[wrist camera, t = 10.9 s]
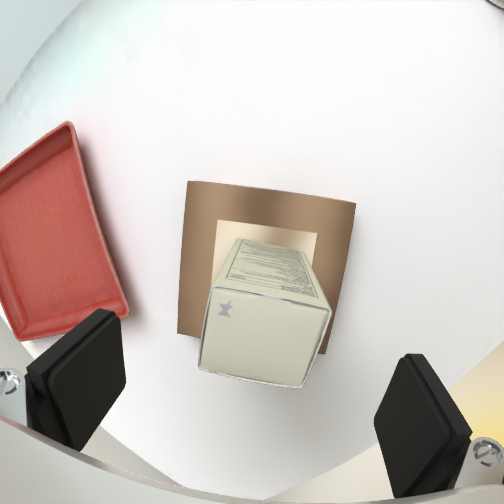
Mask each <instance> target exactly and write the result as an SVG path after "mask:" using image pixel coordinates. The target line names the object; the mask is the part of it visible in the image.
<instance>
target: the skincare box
mask: <svg viewBox="0 0 504 504" xmlns="http://www.w3.org/2000/svg"><path fill="white" fill-rule="evenodd" d="M331 315H332V310H331V308H330V305H329V303H328V301H327V299H326V297H325V295H324V293H323V290H322V288H321V286H320V284H319V282H318V280H317V278H316V276H315V274H314V272H313V269H312V267H311V265H310V263H309V261H308V259H307V257H306V255H305V253H304V252H302V251H298V250H294V249H290V248H286V247H281V246H277V245H272V244H268V243H263V242H258V241H253V240H247V239H242V238H237V239H236V241H235V242H234V245H233V247H232V248H231V250H230V252H229V254H228V256H227V258H226V260H225V262H224V264H223V266H222V267H221V269H220V271H219V273H218V275H217V277H216V279H215V281H214V283H213V285H212V287H211V289H210V294H209V298H208V302H207V308H206V313H205V318H204V323H203V329H202V335H201V341H200V349H199V359H198V368H199V369H200V370H203V371H207V372H210V373H215V374H218V375H223V376H227V377H231V378H236V379H240V380H245V381H250V382H256V383H261V384H266V385H274V386H281V387H290V388H298V389H300V388H302V387H303V385H304V383H305V380H306V378H307V376H308V374H309V372H310V369H311V367H312V365H313V362H314V360H315V358H316V355H317V353H318V350H319V348H320V345H321V343H322V340H323V337H324V335H325V332H326V329H327V326H328V323H329V320H330V318H331Z"/></svg>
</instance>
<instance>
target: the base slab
mask: <svg viewBox="0 0 504 504" xmlns="http://www.w3.org/2000/svg"><path fill="white" fill-rule="evenodd" d="M355 208H356V203H352V202H348V201H343V200H337V199H331V198H325V197H319V196H312V195H306V194H299V193H292V192H285V191H278V190H271V189H263V188H255V187H247V186H239V185H230V184H221V183H212V182H202V181H188V183H187V192H186V202H185V212H184V224H183V236H182V249H181V263H180V280H179V300H178V326H177V333H178V334H183V335H188V336H194V337H199V338H201V335H202V329H203V323H204V318H205V313H206V308H207V302H208V298H209V294H210V289H211V287H212V285H213V283H214V281H215V279H216V277H217V275H218V273H219V271H220V269H221V267H222V266H223V264H224V262H225V260H226V258H227V256H228V254H229V252H230V250H231V248H232V247H233V245H234V242H235V241H236V239H237V238H242V239H247V240H253V241H258V242H263V243H268V244H272V245H277V246H281V247H286V248H290V249H294V250H298V251H302V252H304V253H305V255H306V257H307V259H308V261H309V263H310V265H311V267H312V269H313V272H314V274H315V276H316V278H317V280H318V282H319V284H320V286H321V288H322V290H323V293H324V295H325V297H326V299H327V301H328V303H329V305H330V308H331V310H332V315H331V318H330V320H329V323H328V326H327V329H326V332H325V335H324V337H323V340H322V343H321V345H320V348H319V350H318V353H317V354H325V352H326V348H327V345H328V341H329V337H330V333H331V329H332V325H333V320H334V316H335V312H336V308H337V303H338V299H339V294H340V290H341V285H342V280H343V275H344V270H345V265H346V260H347V255H348V250H349V244H350V238H351V233H352V227H353V221H354V215H355Z"/></svg>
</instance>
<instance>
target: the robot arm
mask: <svg viewBox="0 0 504 504" xmlns="http://www.w3.org/2000/svg"><path fill="white" fill-rule="evenodd" d="M489 1H490V2H492V3H493V4H495V5H497V6H499V7H501V8H503V9H504V0H489ZM26 369H27V372H28V373H27V374H26V375H25V376H23V374H22V373H21V372H20V371H18V370H16V369H13V368H1V369H0V504H316V503H288V502H274V501H263V500H254V499H245V498H238V497H231V496H225V495H219V494H214V493H208V492H203V491H199V490H194V489H189V488H185V487H181V486H177V485H173V484H169V483H165V482H162V481H158V480H155V479H151V478H148V477H144V476H141V475H138V474H135V473H132V472H129V471H126V470H123V469H121V468H118V467H115V466H112V465H110V464H107V463H105V462H102V461H99V460H97V459H94V458H92V457H90V456H88V455H85V454H83V453H80V451H81V450H82V449H83V448H84V446H85V444H86V443H87V442H88V440H89V439H90V437H91V436H92V434H93V433H94V431H95V430H96V428H97V427H98V426H99V424H100V423H101V421H102V420H103V418H104V417H105V415H106V414H107V412H108V411H109V410H110V408H111V407H112V405H113V404H114V402H115V401H116V399H117V398H118V397H119V395H120V394H121V392H122V391H123V389H124V388H125V384H126V375H125V366H124V357H123V347H122V335H121V322H120V318H119V317H117V316H116V313H115V312H114V311H110V310H106V309H102V308H98V309H97V310H95V311H94V312H93V313H92V314H90V315H89V316H88V317H87V318H85V319H84V320H83V321H82V322H80V323H79V324H78V325H77V326H75V327H74V328H73V329H72V330H70V331H69V332H68V333H67V334H66V335H64V336H63V337H62V338H61V339H59V340H58V341H57V342H56V343H55V344H53V345H52V346H51V347H50V348H49V349H47V350H46V351H45V352H44V353H43V354H41V355H40V356H39V357H38V358H37V359H36V360H34V361H33V362H32V363H31V364H30V365H29V366H27V367H26ZM374 427H375V431H376V434H377V437H378V441H379V444H380V448H381V451H382V455H383V458H384V462H385V465H386V469H387V473H388V477H389V480H390V484H391V488H392V492H393V495H394V497H395V498H396V499H390V500H382V501H381V500H380V501H370V502H356V503H325V504H504V448H503V447H502V446H501V445H500V444H499V443H498V442H497V441H495V440H493V439H491V438H487V437H479V438H476V439H474V440H473V441H472V442H471V440H470V438H469V437H470V436H471V434H472V433H473V432H472V430H471V429H470V427H469V425H468V423H467V422H466V420H465V419H464V417H463V415H462V414H461V412H460V410H459V409H458V407H457V406H456V404H455V402H454V401H453V399H452V398H451V396H450V395H449V393H448V391H447V390H446V388H445V387H444V385H443V384H442V382H441V380H440V379H439V377H438V376H437V374H436V373H435V371H434V370H433V368H432V367H431V365H430V364H429V363H428V361H427V360H426V358H425V357H424V355H423V354H406V355H405V356H404V358H400V360H399V361H398V364H397V366H396V369H395V371H394V374H393V376H392V379H391V381H390V384H389V386H388V388H387V390H386V393H385V395H384V397H383V400H382V402H381V404H380V406H379V408H378V410H377V412H376V415H375V417H374ZM317 504H319V503H317ZM320 504H322V503H320ZM323 504H324V503H323Z"/></svg>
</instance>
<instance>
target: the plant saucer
mask: <svg viewBox="0 0 504 504" xmlns="http://www.w3.org/2000/svg"><path fill="white" fill-rule="evenodd" d="M0 302H1V305H2V307H3V310H4V312H5V315H6V317H7V320H8V322H9V324H10V326H11V329H12V331H13V333H14V335H15V337H16V338H17V340H18V341H20V342H23V341H28V340H33V339H38V338H43V337H48V336H53V335H56V334H62V333H66V332H69V331H70V330H72V329H73V328H74V327H75V326H77V325H78V324H79V323H80V322H82V321H83V320H84V319H85V318H87V317H88V316H89V315H90V314H92V313H93V312H94V311H95V310H97V309H98V308H102V309H106V310H110V311H114V312H115V313H116V316H117V317H119V318H120V320H121V319H125V318H127V317H128V316H129V314H130V309H129V304H128V301H127V298H126V295H125V293H124V290H123V287H122V285H121V282H120V279H119V277H118V274H117V271H116V269H115V266H114V263H113V260H112V258H111V255H110V252H109V249H108V246H107V243H106V240H105V237H104V234H103V231H102V228H101V225H100V222H99V219H98V215H97V212H96V209H95V205H94V202H93V198H92V195H91V191H90V188H89V184H88V180H87V176H86V172H85V169H84V164H83V160H82V156H81V152H80V148H79V143H78V139H77V135H76V132H75V129H74V126H73V124H72V123H71V122H70V121H65V122H64V123H62V124H60V125H59V126H58V127H56V128H55V129H53V130H52V131H50V132H49V133H47V134H46V135H44V136H43V137H42V138H40V139H39V140H37V141H36V142H35V143H33V144H32V145H31V146H30V147H28V148H27V149H25V150H24V151H23V152H22V153H21V154H19V155H18V156H17V157H15V158H14V159H13V160H11V161H10V162H9V163H8V164H7V165H5V166H4V167H3V168H2V169H1V170H0Z"/></svg>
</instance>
